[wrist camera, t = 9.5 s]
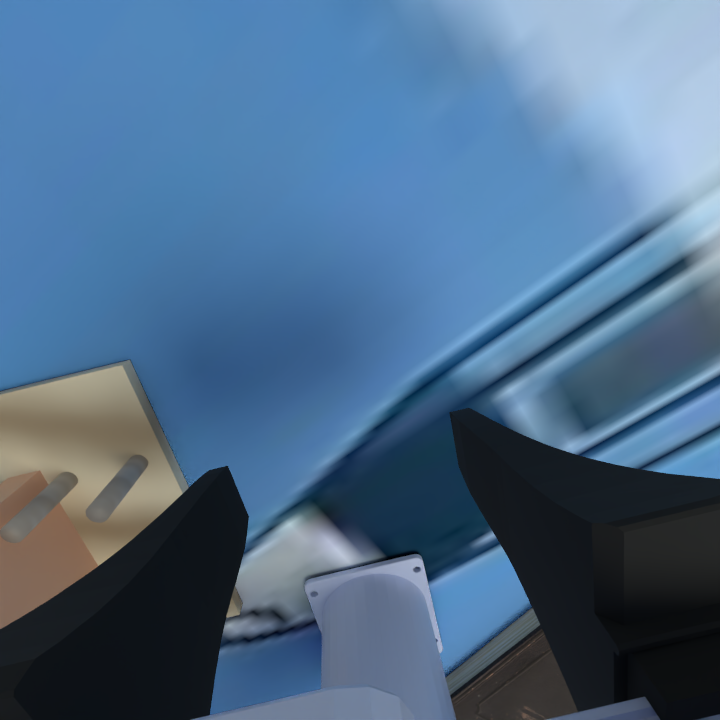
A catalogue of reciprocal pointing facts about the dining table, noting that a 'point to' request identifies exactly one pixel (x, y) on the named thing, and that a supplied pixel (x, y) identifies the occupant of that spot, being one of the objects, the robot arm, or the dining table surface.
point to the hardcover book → (511, 678)
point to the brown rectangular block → (37, 552)
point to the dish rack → (91, 457)
